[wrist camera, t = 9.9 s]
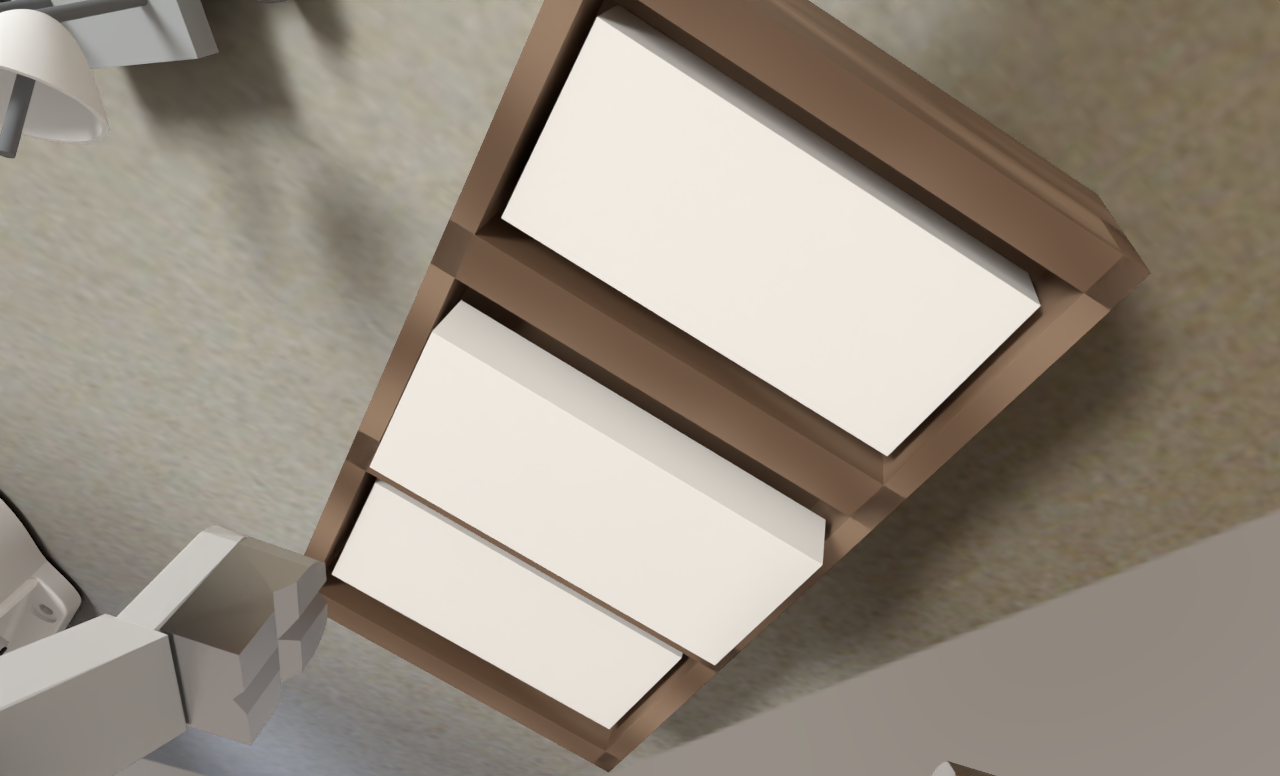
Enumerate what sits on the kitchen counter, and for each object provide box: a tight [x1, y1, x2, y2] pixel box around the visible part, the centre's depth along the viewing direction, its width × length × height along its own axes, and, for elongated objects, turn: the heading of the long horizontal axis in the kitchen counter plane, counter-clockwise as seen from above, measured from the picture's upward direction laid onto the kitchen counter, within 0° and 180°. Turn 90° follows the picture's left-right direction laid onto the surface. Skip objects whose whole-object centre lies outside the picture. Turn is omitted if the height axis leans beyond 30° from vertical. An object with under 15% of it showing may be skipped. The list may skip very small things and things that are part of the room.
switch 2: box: [370, 300, 826, 665], centre depth 26 cm, size 6×13×2 cm, turn 60°
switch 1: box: [501, 5, 1041, 456], centre depth 23 cm, size 6×13×2 cm, turn 60°
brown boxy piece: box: [304, 0, 1151, 772], centre depth 29 cm, size 28×16×6 cm, turn 150°
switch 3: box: [332, 479, 683, 729], centre depth 33 cm, size 6×13×2 cm, turn 60°
